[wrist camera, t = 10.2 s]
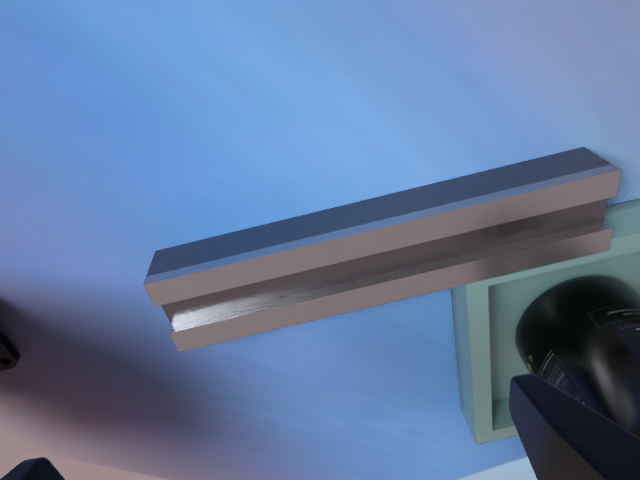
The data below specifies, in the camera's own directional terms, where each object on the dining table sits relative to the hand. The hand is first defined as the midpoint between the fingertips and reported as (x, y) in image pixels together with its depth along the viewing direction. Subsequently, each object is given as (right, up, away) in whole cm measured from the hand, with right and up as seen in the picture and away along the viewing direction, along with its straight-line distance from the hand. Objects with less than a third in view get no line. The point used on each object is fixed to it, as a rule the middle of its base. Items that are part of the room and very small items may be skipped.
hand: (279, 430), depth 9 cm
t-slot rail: (+3, +4, +13) cm, 14 cm away
